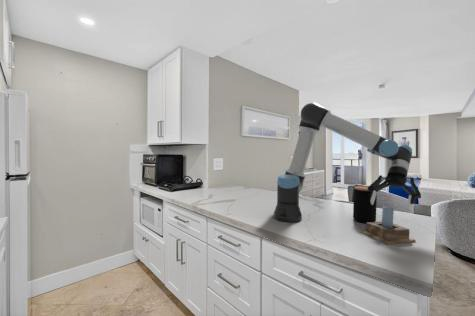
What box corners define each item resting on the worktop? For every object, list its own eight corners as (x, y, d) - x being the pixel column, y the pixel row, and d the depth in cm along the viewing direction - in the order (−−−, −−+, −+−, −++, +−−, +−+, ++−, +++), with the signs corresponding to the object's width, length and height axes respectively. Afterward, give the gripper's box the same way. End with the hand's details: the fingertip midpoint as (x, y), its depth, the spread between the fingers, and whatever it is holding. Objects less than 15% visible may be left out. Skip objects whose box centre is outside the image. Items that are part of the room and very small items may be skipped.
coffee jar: (372, 219, 123) (373, 186, 122) (378, 225, 112) (380, 189, 112) (351, 217, 125) (351, 185, 125) (355, 223, 115) (356, 188, 115)
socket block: (360, 232, 102) (361, 221, 102) (385, 230, 105) (385, 220, 105) (387, 244, 88) (388, 232, 88) (415, 241, 91) (415, 230, 91)
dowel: (378, 233, 98) (380, 206, 98) (386, 232, 99) (387, 206, 98) (386, 236, 94) (388, 209, 94) (394, 236, 95) (396, 208, 95)
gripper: (432, 178, 101) (426, 217, 91) (370, 173, 119) (360, 205, 109) (431, 167, 97) (424, 206, 87) (368, 164, 115) (356, 196, 105)
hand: (388, 206), depth 98 cm, fingers open, 13 cm apart
